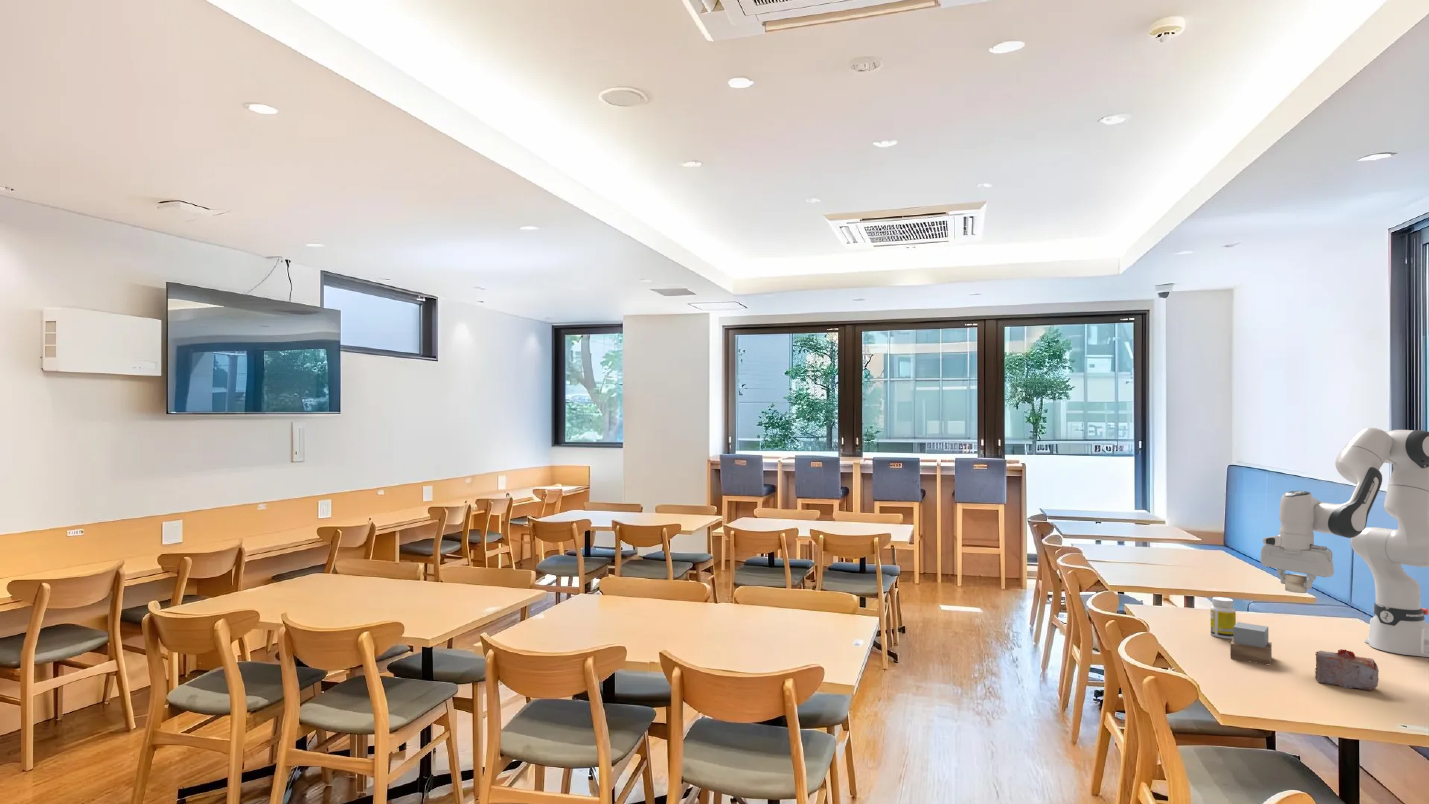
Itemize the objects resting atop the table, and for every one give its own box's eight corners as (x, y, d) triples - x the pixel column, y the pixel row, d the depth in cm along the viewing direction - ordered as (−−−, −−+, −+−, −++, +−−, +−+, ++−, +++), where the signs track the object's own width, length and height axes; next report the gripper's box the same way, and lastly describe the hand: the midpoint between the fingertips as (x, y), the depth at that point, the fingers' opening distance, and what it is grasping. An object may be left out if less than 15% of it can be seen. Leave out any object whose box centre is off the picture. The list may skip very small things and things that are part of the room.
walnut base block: (1233, 652, 250) (1233, 636, 250) (1271, 658, 244) (1271, 642, 244) (1230, 659, 242) (1230, 643, 242) (1269, 666, 236) (1269, 649, 236)
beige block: (1292, 588, 250) (1292, 573, 250) (1310, 592, 245) (1311, 576, 245) (1281, 589, 248) (1281, 574, 248) (1299, 593, 243) (1299, 577, 243)
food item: (1375, 686, 218) (1375, 650, 219) (1379, 694, 212) (1379, 658, 212) (1314, 676, 226) (1314, 642, 226) (1316, 684, 219) (1316, 649, 219)
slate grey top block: (1238, 637, 249) (1237, 622, 249) (1268, 642, 244) (1268, 626, 244) (1233, 642, 243) (1233, 626, 243) (1264, 648, 238) (1264, 631, 238)
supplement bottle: (1240, 638, 265) (1240, 600, 265) (1226, 640, 263) (1226, 602, 263) (1219, 632, 272) (1219, 595, 272) (1205, 634, 269) (1205, 597, 270)
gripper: (1338, 547, 238) (1338, 592, 238) (1270, 537, 257) (1270, 579, 257) (1325, 547, 236) (1325, 593, 236) (1257, 537, 255) (1257, 580, 255)
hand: (1295, 586), depth 246 cm, fingers closed on beige block, 5 cm apart
